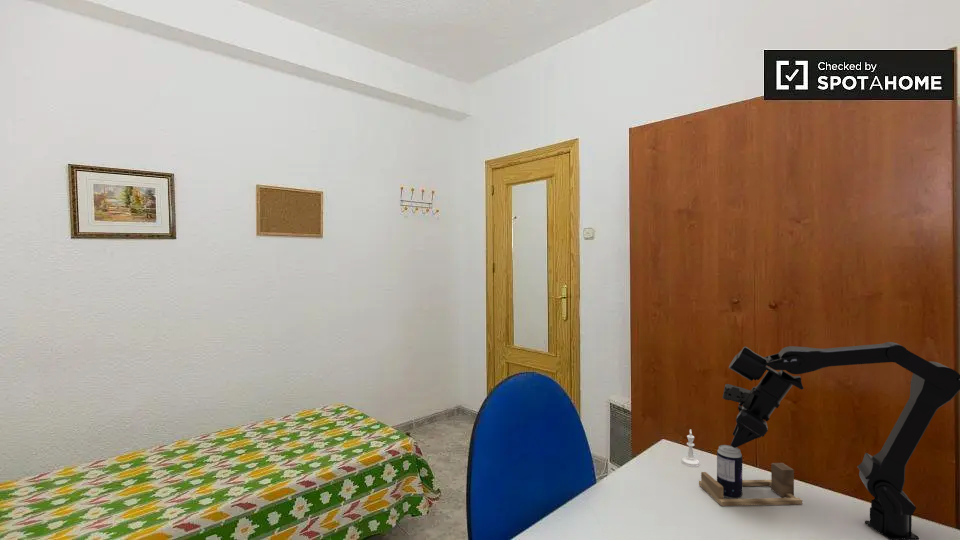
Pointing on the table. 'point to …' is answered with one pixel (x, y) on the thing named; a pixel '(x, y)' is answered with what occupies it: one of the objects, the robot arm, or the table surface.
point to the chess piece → (690, 453)
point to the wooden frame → (779, 484)
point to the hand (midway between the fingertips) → (733, 440)
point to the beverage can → (729, 471)
